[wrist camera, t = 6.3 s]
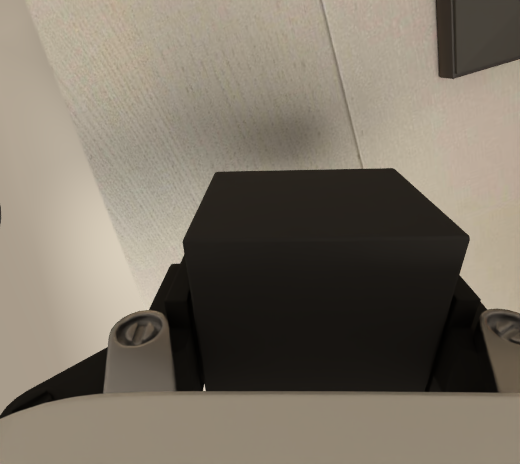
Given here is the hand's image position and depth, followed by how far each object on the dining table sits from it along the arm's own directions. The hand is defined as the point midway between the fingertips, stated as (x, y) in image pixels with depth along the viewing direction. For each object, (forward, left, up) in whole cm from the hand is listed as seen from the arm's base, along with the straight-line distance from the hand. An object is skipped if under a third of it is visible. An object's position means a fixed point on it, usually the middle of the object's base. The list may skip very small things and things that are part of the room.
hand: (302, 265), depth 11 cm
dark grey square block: (0, 0, -1) cm, 1 cm away
